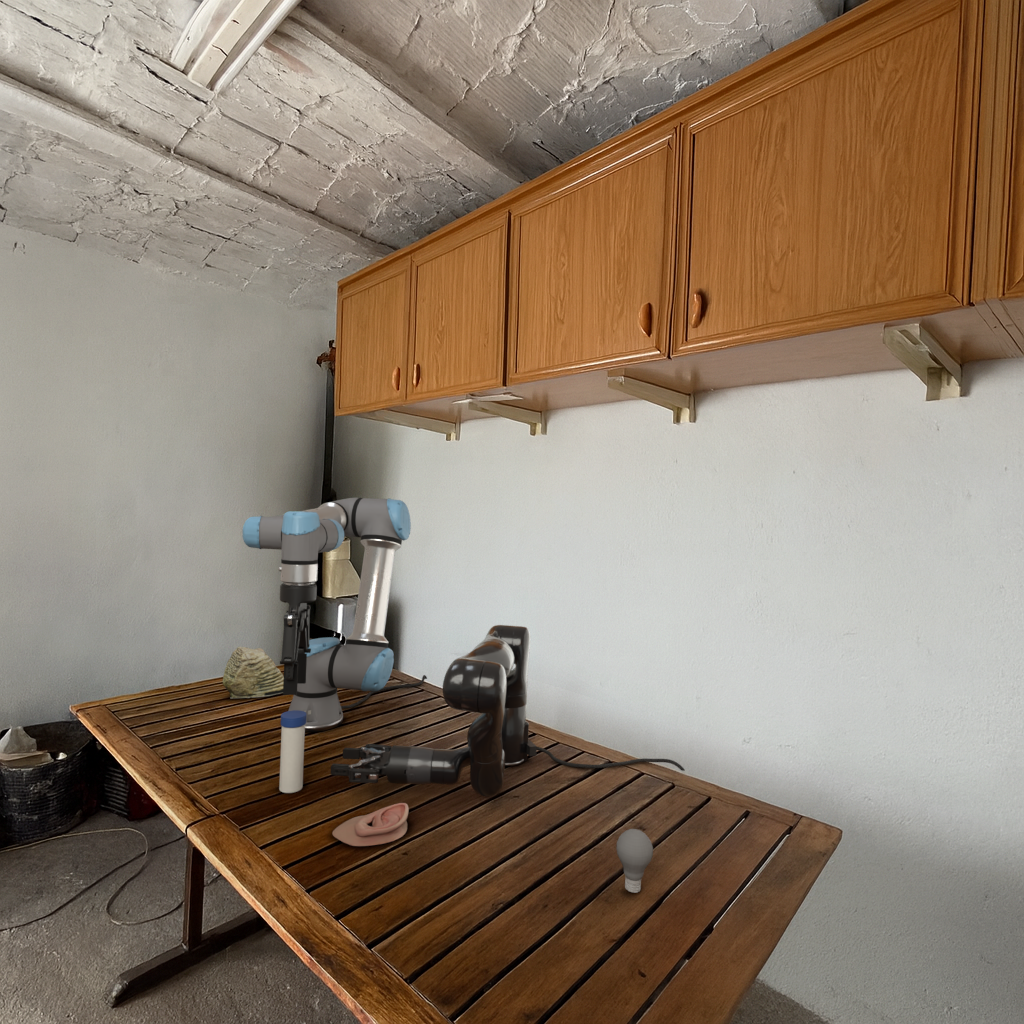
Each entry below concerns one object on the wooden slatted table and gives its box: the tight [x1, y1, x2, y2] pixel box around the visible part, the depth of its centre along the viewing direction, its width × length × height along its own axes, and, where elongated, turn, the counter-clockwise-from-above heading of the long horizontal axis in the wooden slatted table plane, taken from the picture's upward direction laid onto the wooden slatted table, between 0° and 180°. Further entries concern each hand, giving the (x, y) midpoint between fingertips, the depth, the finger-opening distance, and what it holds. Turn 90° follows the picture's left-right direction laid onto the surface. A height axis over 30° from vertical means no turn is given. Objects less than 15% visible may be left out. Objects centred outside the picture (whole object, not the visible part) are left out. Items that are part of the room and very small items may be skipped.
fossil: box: [222, 646, 284, 699], centre depth 198 cm, size 9×18×15 cm, turn 132°
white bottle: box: [278, 725, 306, 794], centre depth 137 cm, size 5×5×16 cm
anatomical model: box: [332, 802, 410, 847], centre depth 121 cm, size 13×4×12 cm
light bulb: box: [615, 828, 654, 894], centre depth 106 cm, size 6×6×10 cm
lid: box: [280, 710, 306, 728], centre depth 137 cm, size 5×5×2 cm
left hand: (294, 688), depth 137 cm, fingers open, 7 cm apart
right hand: (337, 760), depth 137 cm, fingers open, 8 cm apart
